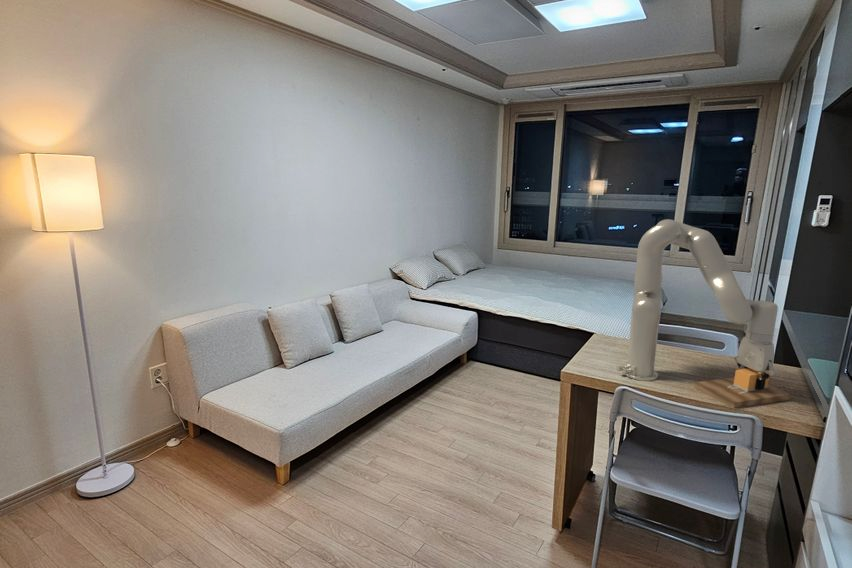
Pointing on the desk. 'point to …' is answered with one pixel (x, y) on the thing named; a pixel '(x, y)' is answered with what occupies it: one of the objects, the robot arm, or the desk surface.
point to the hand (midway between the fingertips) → (751, 385)
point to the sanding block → (747, 379)
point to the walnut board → (740, 393)
